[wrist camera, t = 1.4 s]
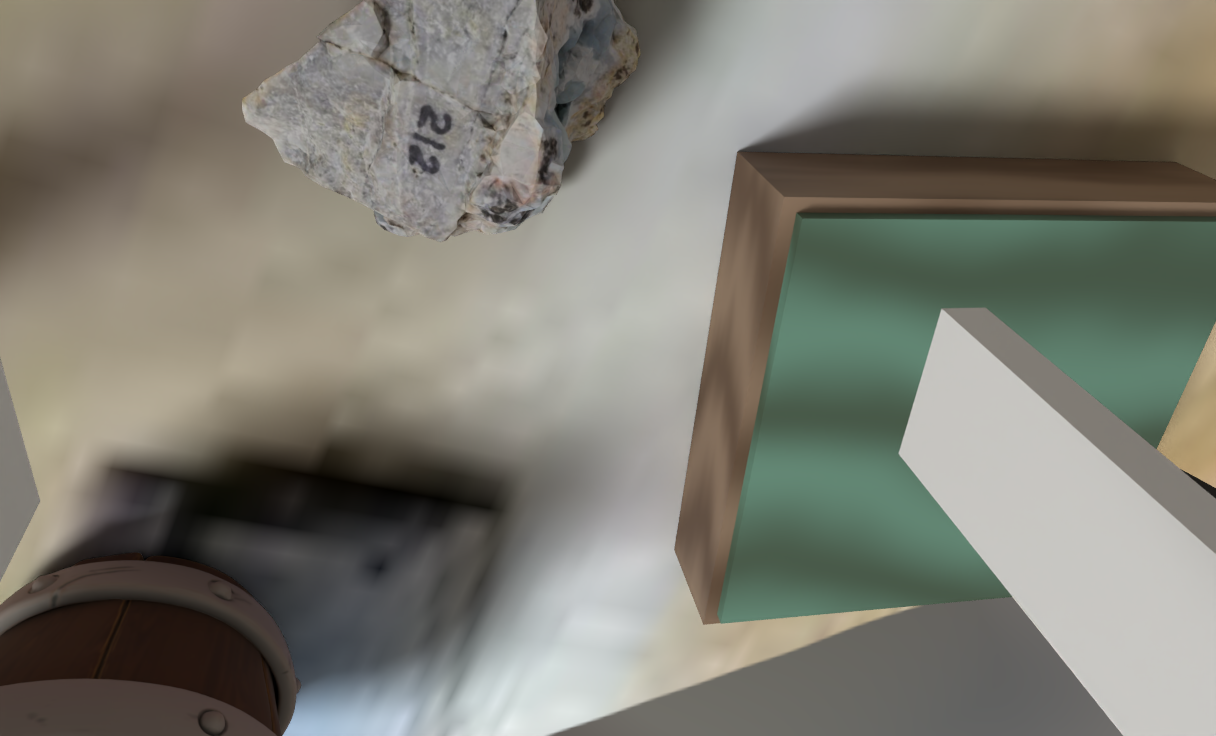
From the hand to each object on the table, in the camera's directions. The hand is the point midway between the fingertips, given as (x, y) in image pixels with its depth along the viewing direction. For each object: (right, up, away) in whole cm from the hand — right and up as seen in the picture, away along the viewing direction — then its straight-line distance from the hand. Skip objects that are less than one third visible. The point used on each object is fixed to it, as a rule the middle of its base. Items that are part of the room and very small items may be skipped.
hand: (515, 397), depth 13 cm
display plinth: (+14, 0, +25) cm, 29 cm away
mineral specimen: (-4, +10, +16) cm, 19 cm away
